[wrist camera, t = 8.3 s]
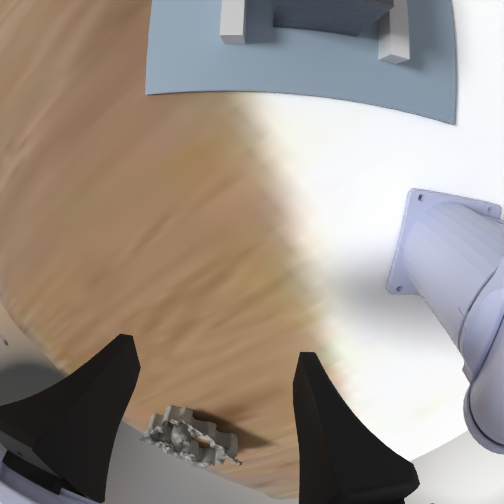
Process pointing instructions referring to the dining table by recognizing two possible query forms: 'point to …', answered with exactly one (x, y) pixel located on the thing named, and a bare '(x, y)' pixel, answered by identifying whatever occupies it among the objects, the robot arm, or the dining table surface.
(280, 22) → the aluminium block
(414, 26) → the coupler cradle
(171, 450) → the egg carton
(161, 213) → the dining table surface
